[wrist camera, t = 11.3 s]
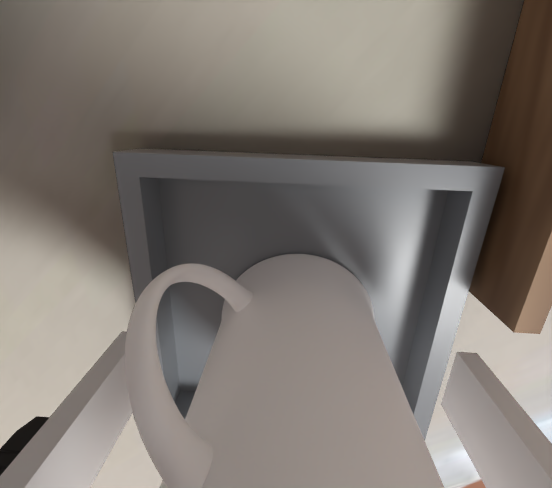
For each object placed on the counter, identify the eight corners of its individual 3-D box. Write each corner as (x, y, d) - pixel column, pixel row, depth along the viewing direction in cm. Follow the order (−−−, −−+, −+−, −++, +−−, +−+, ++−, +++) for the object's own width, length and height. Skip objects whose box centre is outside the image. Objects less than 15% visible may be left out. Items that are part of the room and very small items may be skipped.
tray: (169, 393, 21) (154, 427, 18) (140, 148, 15) (112, 151, 13) (407, 410, 20) (422, 446, 18) (470, 161, 14) (505, 167, 12)
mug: (156, 251, 16) (-143, 522, 5) (293, 166, 14) (296, 301, 3) (273, 397, 20) (246, 758, 8) (397, 344, 18) (580, 723, 6)
